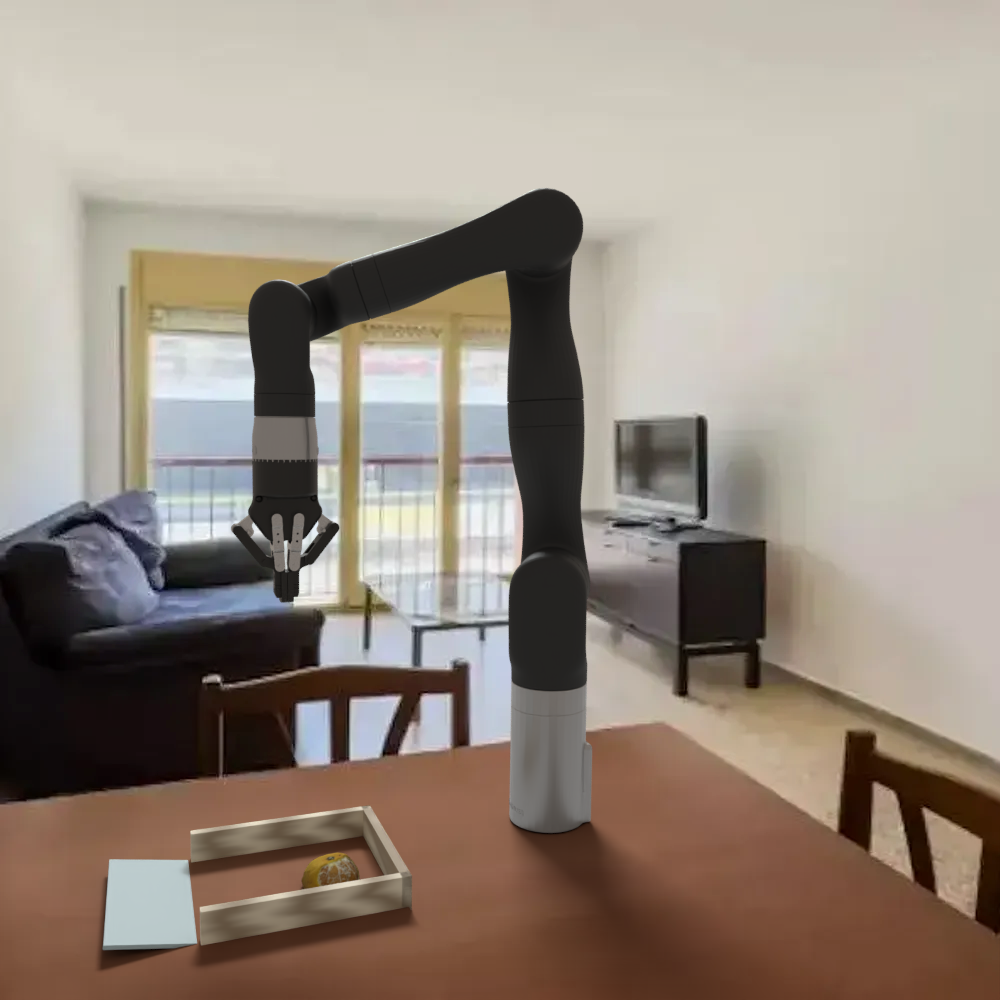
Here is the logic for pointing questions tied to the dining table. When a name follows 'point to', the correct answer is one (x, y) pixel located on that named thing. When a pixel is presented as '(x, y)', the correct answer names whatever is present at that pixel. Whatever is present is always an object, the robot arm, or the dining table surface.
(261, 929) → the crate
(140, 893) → the panel
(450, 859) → the dining table surface
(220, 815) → the dining table surface
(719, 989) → the dining table surface
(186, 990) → the dining table surface
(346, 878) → the fruit
